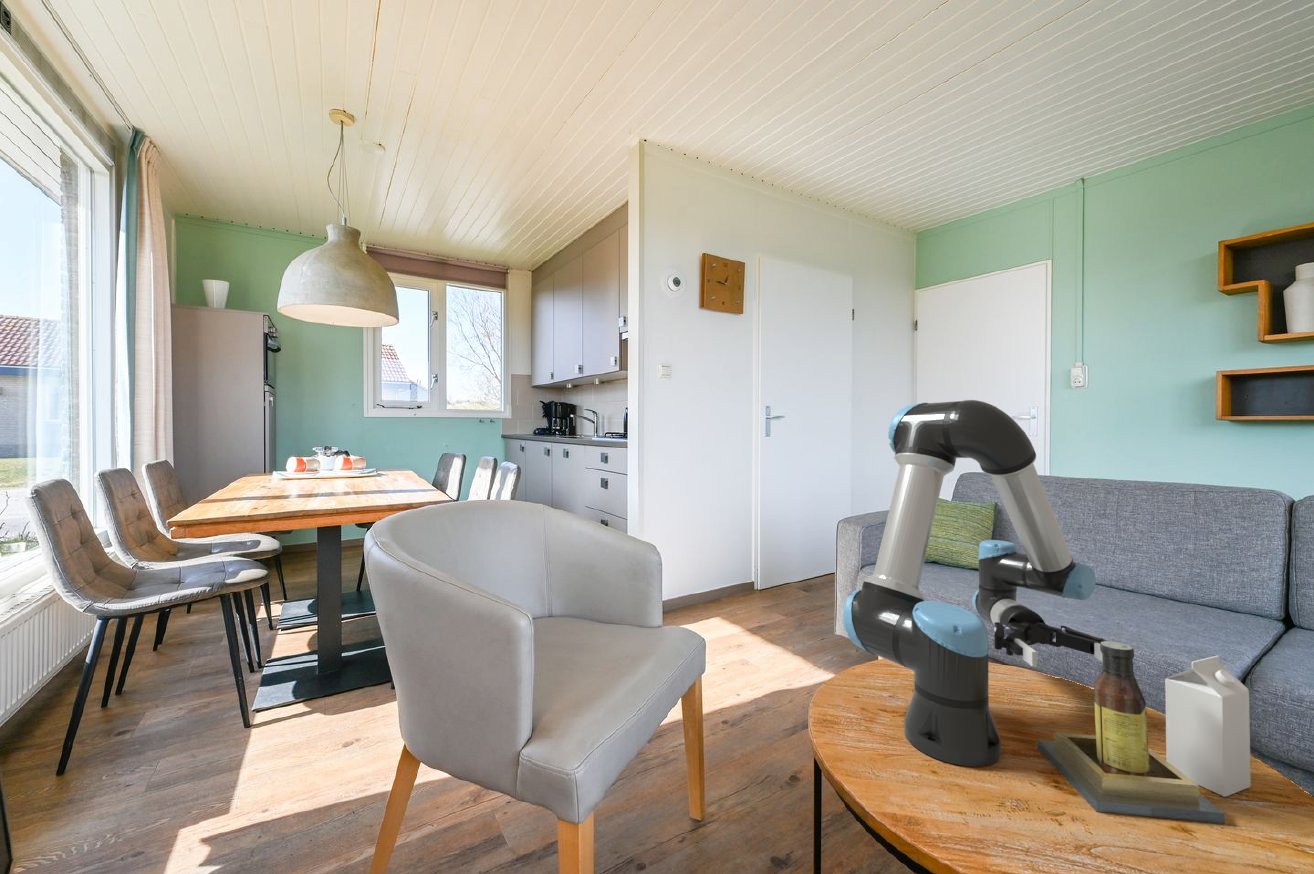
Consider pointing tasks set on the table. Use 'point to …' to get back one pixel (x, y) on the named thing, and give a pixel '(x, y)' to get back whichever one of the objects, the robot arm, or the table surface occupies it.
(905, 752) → the table surface
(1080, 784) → the plate
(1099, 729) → the sauce bottle
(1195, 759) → the milk carton
